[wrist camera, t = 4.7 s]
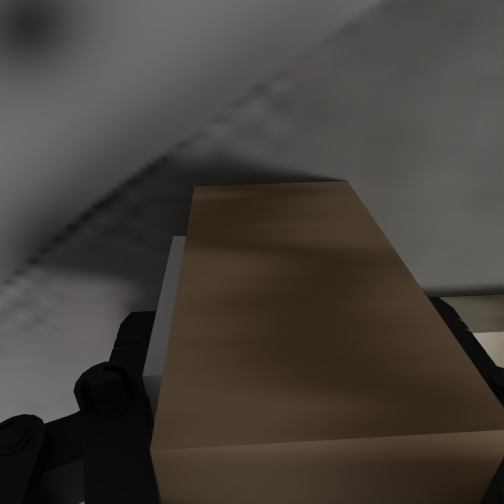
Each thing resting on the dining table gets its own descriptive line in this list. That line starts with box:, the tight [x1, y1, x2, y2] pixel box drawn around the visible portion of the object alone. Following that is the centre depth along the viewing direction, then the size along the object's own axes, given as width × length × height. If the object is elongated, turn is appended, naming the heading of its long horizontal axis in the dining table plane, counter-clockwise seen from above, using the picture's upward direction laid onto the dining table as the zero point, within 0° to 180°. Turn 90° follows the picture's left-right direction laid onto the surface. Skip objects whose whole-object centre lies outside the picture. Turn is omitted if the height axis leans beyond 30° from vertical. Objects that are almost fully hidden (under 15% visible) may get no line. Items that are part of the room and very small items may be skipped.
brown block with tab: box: [150, 181, 504, 504], centre depth 15 cm, size 6×16×11 cm, turn 1°
